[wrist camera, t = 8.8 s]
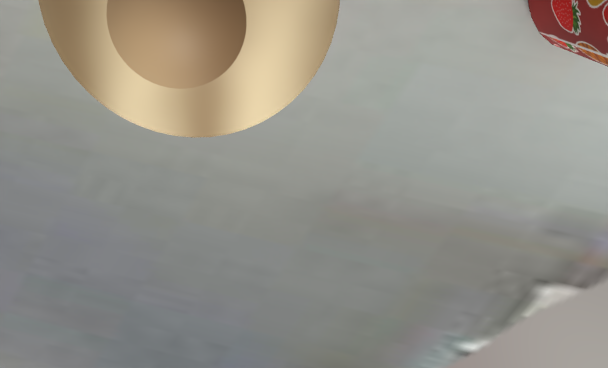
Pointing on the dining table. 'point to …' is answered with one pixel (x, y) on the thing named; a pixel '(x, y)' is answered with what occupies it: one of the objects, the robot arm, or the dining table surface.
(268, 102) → the wooden peg stand
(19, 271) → the dining table surface
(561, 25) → the smoothie
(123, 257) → the dining table surface
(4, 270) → the dining table surface
